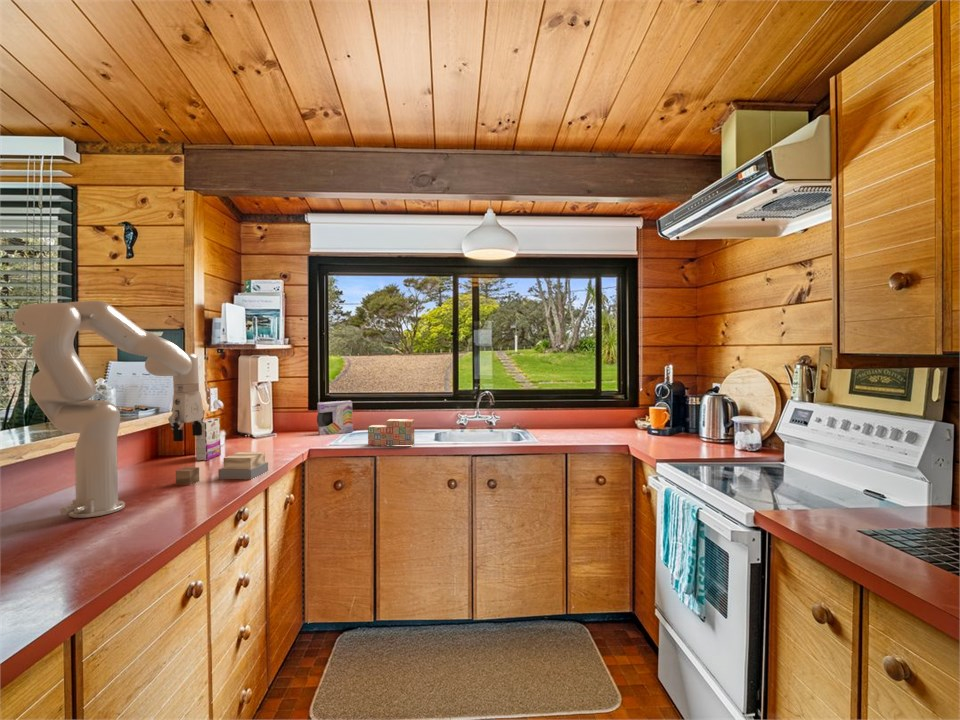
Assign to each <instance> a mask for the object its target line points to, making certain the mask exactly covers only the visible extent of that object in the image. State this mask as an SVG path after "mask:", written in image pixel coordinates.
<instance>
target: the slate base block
mask: <svg viewBox="0 0 960 720" xmlns="http://www.w3.org/2000/svg"><path fill="white" fill-rule="evenodd" d="M267 471H268V472H269V462H267V461H265V463H264V464H261V465H259V466H257V467H255V468H252V469H224V467H222V468H219V469H218V471H217V473H218V475H217V476H218V480H219V479H252V480H254V479H256V478H258V477H260V476H262V475H264V474H266V473H268V472H267ZM265 472H266V473H265ZM263 473H264V474H263ZM261 474H262V475H261ZM259 475H260V476H259ZM257 476H258V477H257ZM255 477H256V478H255ZM253 478H254V479H253Z"/></svg>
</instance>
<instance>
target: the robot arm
mask: <svg viewBox="0 0 960 720" xmlns="http://www.w3.org/2000/svg"><path fill="white" fill-rule="evenodd" d="M13 323H14V324H15V327H16V328H17V329H18V330H19V331H21V332H22V333H24V334H26V335H29V336H34V340H33V343H32V349H31V350H32V351H31V353H32V358H33V360H34V362H35V364H36V366H37V367H38V369H39V371H38V372H36V373H35V374H34V375H33V376H32V378H31V379H30V382H29V391H30V394H31V397H32V398H33V400H34V401H35V403H36V404H37V405H38V407H39V409H40V410H41V411H42V412H43V414H44V415H45V417H47V418H48V420H49V422H50V423H51V424H52V425H53V426H54V427H55V428H56V429H57V430H59V431H61V432H62V433H63V432H64V433H67V434H79V436H78V439H77V441H76V444H75V447H74V475H75V476H74V477H75V478H74V479H75V480H74V481H75V499H72V503H71V504H70V505H67V506H64V507H62V508H60V511H59V513H60V514H61V515H62V516H66V515H68V517H71V518H75V519H85V518H94V517H100V516H105V515H109V514H113V513H116V512H118V511H121V510H123V509H124V508H125V506H126V503H125V501H123V500H119V478H118V477H119V476H118V474H119V472H118V470H119V469H118V435H119V428H120V424H121V412H120V410H119V408H118V407H117V406H116V405H115V404H114V403H112V402H110V401H106V400H101V399H100V400H97V399H96V400H95V399H92V398H93V396H95V393H96V383H95V381H94V379H93V378H92V376H91V375H90V373H89V371H88V369H87V368H86V367H85V365H84V364H83V362H82V361H81V359H80V357H79V356H78V354H77V352H76V349H75V346H74V342H75V337H76V334H77V332H79V331H80V332H81V331H92V332H94V333H95V334H97V335H98V336H100V337H101V338H103V339H104V340H106V341H107V342H108V343H110V344H112V345H113V346H114V347H115V348H117V350H118V349H119V350H120V351H122V352H125V353H129V354H132V355H135V356H141V357H145V358H147V359H146V360H145V361H144V368H145V370H146V371H147V372H148V373H149V374H151V375H153V376H156V377H172V381H173V382H172V384H173V396H172V405H171V406H172V408H171V410H172V413H171V415H170V416H169V417H168V421H167V422H169V426H170V427H171V430H172V434H173V435H172V436H173V442H184V439H185V437H184V429H183V427H184V425H185V424H189V423H193V424H191V425H192V426H191V427H192V436H194V437H195V436H201V435H202V423H203V420H205V419H204V418H205V417H204V416H205V413H206V411H205V410H204V409H203V408H204V407H203V399H202V395H201V392H200V385H199V384H200V381H199V380H200V379H199V360H198V359H199V358H198V355H197V354H196V353H193V352H189V353H188V352H186V351H184V350H183V349H182V348H181V347H179V346H178V345H176V344H175V343H173V342H171V341H170V340H168V339H166V338H163V337H162V336H159V335H156V334H154V333H153V332H150V331H147V330H146V329H143V328H141V327H140V326H139V325H137V324H136V323H135V322H133V321H132V320H131V319H130V318H129V317H127V316H125V314H124V313H122V312H121V311H120V310H118V309H117V308H116V307H114V306H113V305H111V304H110V303H108V302H106V301H102V300H85V301H83V300H82V301H69V302H47V303H46V302H45V303H43V302H42V303H31V304H29V303H28V304H25V305H22V306H20V307H19V308H18V309H17V310H16V311H15V313H14V315H13Z"/></svg>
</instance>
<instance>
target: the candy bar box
mask: <svg viewBox="0 0 960 720" xmlns="http://www.w3.org/2000/svg"><path fill="white" fill-rule="evenodd" d="M220 419H221V418H217V417H216V418H212V417H210V418H206V419H203V423H202V435H201V436H194V438H195V460H207V461H210V460H212V459H214V457H215V458H217V457H219V455H220V456H221V455H222V453H221V451H222V449H221V426H220V425H221V423H220V422H221V421H220ZM209 459H210V460H209Z"/></svg>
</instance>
